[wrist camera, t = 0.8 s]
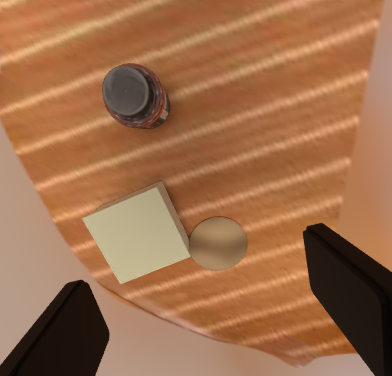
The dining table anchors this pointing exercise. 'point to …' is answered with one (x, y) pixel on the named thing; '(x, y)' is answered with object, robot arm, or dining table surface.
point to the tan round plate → (218, 243)
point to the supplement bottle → (135, 96)
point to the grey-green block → (139, 232)
